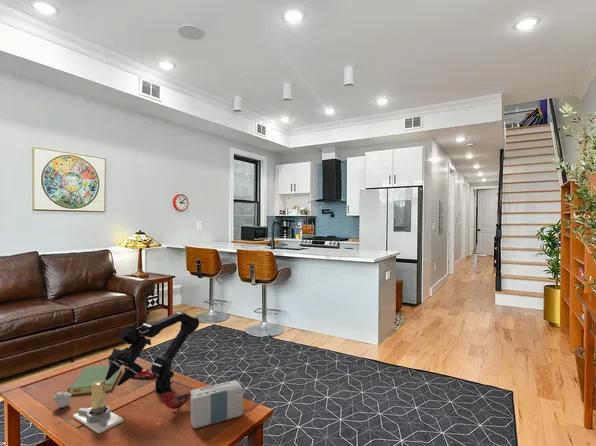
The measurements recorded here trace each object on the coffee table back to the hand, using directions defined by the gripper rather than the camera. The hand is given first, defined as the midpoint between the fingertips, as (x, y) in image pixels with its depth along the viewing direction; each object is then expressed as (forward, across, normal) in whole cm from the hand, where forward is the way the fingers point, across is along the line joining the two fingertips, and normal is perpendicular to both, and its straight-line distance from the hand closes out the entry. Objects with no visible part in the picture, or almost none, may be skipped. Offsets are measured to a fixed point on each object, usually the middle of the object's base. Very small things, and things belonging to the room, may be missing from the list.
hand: (111, 382), depth 153 cm
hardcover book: (+2, -35, +18) cm, 40 cm away
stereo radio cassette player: (-6, +41, +25) cm, 48 cm away
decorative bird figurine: (-3, +22, +23) cm, 32 cm away
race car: (-10, -21, +30) cm, 38 cm away
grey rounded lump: (+16, -23, +3) cm, 29 cm away
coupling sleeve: (+13, 0, +5) cm, 13 cm away
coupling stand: (+14, 0, +5) cm, 15 cm away
